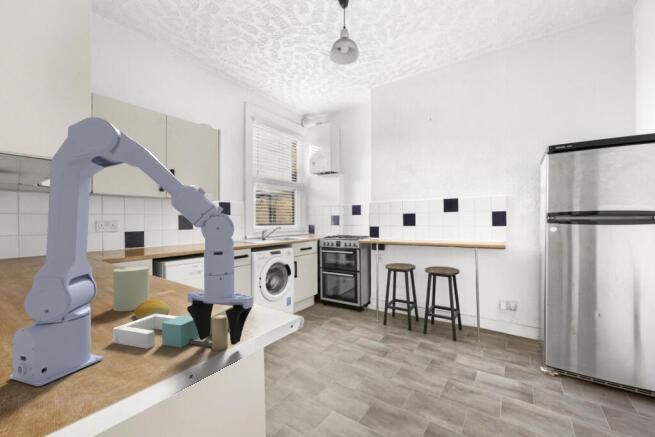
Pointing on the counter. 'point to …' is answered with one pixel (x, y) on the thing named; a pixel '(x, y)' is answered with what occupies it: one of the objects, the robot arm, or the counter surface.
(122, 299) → the can
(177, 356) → the counter surface
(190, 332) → the tethered block
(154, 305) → the bread roll
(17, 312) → the counter surface
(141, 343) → the white u-shaped bracket
